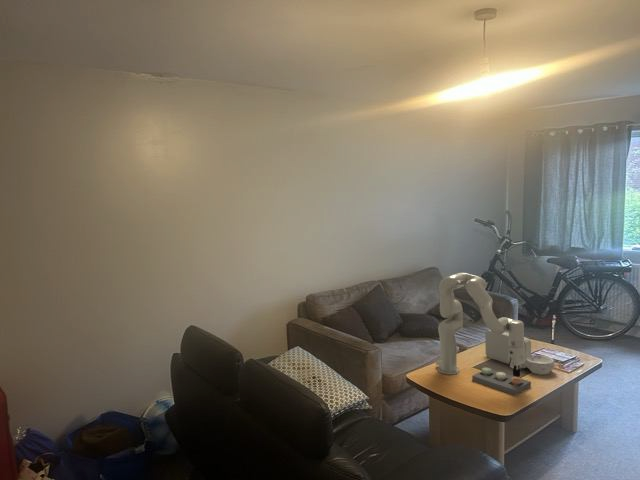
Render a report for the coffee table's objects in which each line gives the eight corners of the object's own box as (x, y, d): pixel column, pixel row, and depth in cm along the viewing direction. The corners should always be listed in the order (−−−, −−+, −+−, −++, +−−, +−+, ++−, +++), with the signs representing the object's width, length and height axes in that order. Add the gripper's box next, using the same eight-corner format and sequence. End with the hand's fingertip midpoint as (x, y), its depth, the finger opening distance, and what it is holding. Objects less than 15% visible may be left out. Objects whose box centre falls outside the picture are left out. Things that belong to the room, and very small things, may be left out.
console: (472, 380, 262) (472, 375, 262) (488, 373, 271) (488, 368, 271) (515, 395, 241) (515, 390, 241) (530, 386, 251) (530, 381, 250)
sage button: (480, 373, 264) (480, 369, 263) (485, 370, 267) (485, 366, 266) (487, 375, 260) (487, 371, 259) (492, 373, 263) (492, 369, 262)
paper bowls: (538, 365, 280) (538, 352, 279) (559, 373, 266) (560, 360, 265) (519, 369, 274) (519, 357, 273) (540, 379, 260) (540, 365, 259)
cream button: (494, 377, 256) (494, 373, 256) (499, 375, 259) (499, 371, 259) (502, 380, 252) (502, 376, 252) (507, 378, 255) (507, 373, 255)
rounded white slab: (533, 366, 278) (533, 337, 276) (525, 369, 274) (526, 340, 272) (492, 353, 302) (492, 327, 300) (485, 356, 298) (485, 329, 296)
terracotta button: (509, 382, 249) (509, 378, 249) (514, 380, 252) (514, 375, 252) (517, 385, 245) (518, 381, 245) (522, 383, 248) (522, 378, 248)
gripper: (515, 348, 239) (515, 382, 241) (530, 341, 248) (530, 374, 250) (502, 344, 245) (502, 377, 247) (517, 338, 254) (517, 370, 256)
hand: (516, 375), depth 248 cm, fingers closed
